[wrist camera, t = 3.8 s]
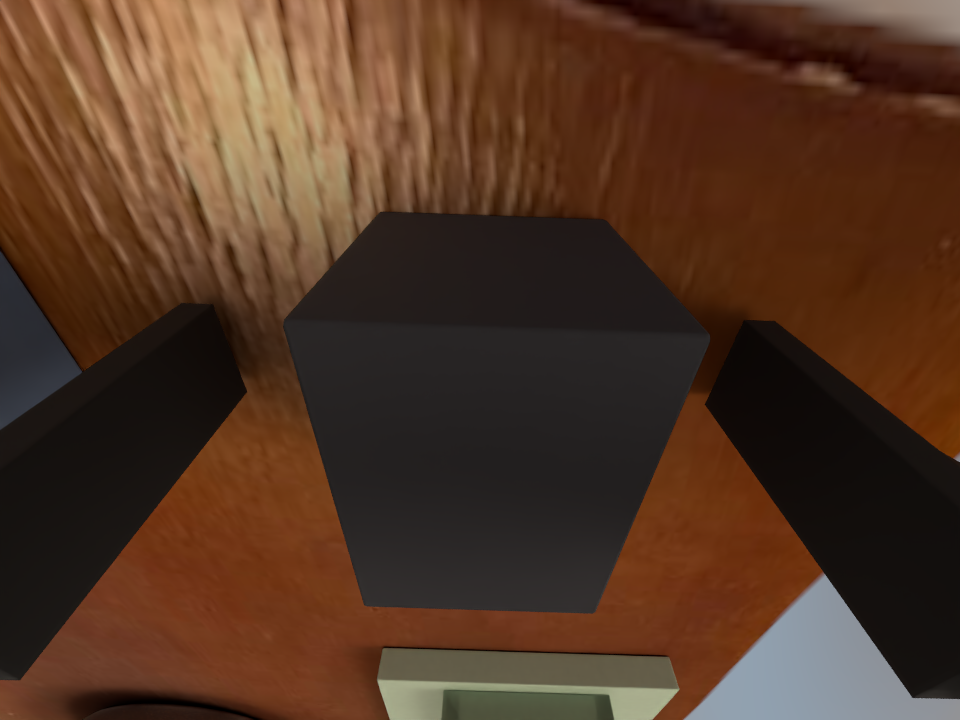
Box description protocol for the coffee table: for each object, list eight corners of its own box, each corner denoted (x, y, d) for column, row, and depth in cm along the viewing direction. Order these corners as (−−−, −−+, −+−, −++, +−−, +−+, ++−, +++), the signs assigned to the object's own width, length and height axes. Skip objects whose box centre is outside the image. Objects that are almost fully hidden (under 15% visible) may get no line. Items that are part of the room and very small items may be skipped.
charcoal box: (606, 218, 9) (715, 336, 4) (560, 443, 13) (595, 615, 8) (379, 210, 9) (277, 321, 4) (404, 438, 13) (363, 608, 8)
